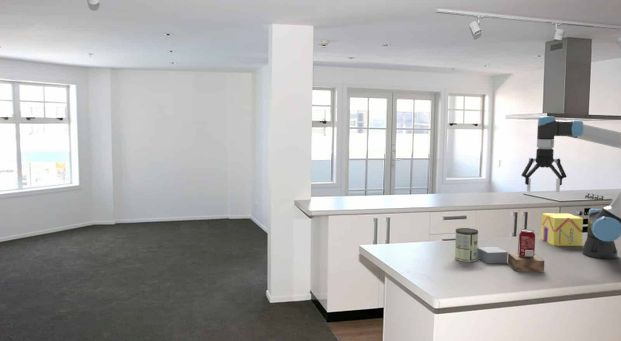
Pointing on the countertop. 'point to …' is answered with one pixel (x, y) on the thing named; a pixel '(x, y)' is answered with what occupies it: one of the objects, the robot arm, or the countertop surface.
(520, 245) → the soda can
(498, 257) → the slate-grey block
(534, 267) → the walnut block
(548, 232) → the toy block
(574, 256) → the countertop surface
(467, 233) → the coffee can
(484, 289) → the countertop surface
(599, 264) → the countertop surface
